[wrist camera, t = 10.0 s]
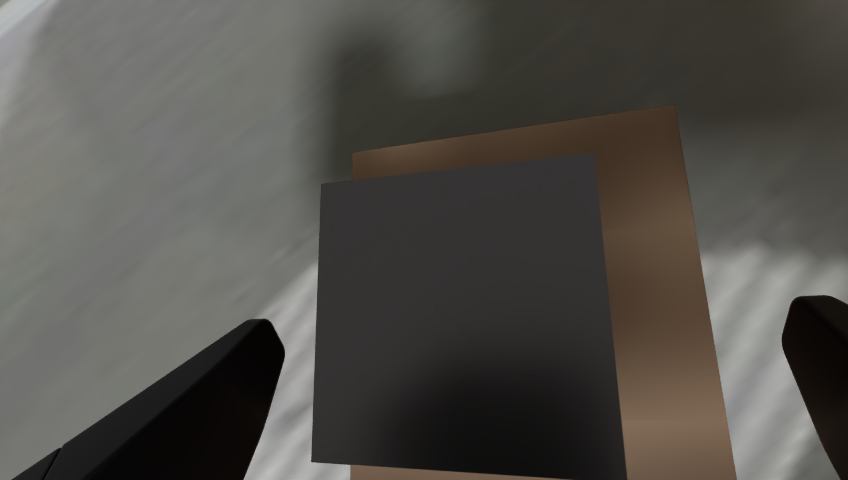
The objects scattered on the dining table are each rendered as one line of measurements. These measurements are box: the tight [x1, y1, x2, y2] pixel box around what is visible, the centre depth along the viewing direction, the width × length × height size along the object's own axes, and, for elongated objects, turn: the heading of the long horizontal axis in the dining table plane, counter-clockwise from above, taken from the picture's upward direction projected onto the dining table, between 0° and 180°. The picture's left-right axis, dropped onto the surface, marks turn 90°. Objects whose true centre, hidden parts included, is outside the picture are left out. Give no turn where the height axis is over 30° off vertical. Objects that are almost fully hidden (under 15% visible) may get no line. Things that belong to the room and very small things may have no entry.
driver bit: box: [311, 153, 627, 480], centre depth 11 cm, size 3×3×12 cm
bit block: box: [350, 104, 737, 480], centre depth 14 cm, size 20×10×4 cm, turn 2°
